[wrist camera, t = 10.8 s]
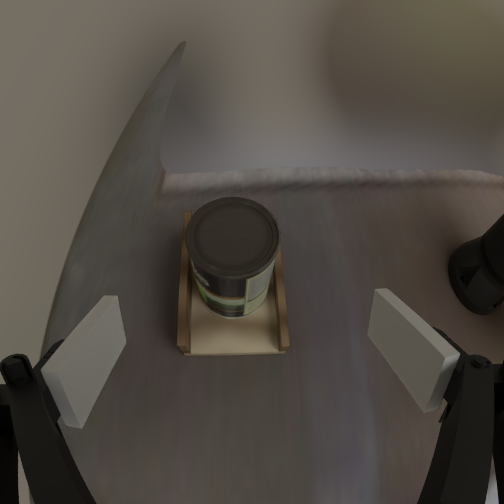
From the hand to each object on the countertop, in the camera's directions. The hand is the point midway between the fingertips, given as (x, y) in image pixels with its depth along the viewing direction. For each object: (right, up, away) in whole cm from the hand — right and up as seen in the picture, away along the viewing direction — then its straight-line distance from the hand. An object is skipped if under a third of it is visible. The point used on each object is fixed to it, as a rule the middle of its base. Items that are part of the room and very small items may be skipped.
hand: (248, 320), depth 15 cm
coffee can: (-3, -2, +30) cm, 31 cm away
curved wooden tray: (-3, -2, +32) cm, 32 cm away
